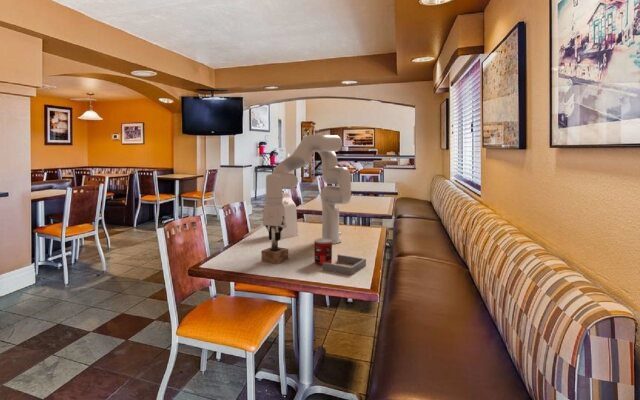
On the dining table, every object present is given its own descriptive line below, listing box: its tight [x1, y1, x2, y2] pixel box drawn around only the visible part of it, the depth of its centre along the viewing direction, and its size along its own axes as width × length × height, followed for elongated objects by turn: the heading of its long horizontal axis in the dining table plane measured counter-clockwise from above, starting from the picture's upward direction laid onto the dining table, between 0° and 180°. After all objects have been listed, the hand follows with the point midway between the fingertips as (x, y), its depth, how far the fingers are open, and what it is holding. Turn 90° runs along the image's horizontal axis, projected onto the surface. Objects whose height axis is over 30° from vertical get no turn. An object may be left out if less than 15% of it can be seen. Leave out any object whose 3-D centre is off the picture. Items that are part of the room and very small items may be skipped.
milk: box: [280, 192, 299, 240], centre depth 222 cm, size 12×12×26 cm
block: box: [260, 246, 290, 265], centre depth 174 cm, size 9×9×5 cm
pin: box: [270, 226, 279, 250], centre depth 172 cm, size 3×3×12 cm
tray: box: [321, 254, 367, 276], centre depth 163 cm, size 15×14×3 cm
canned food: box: [313, 237, 333, 267], centre depth 168 cm, size 8×8×11 cm
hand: (274, 239), depth 173 cm, fingers closed on pin, 3 cm apart
